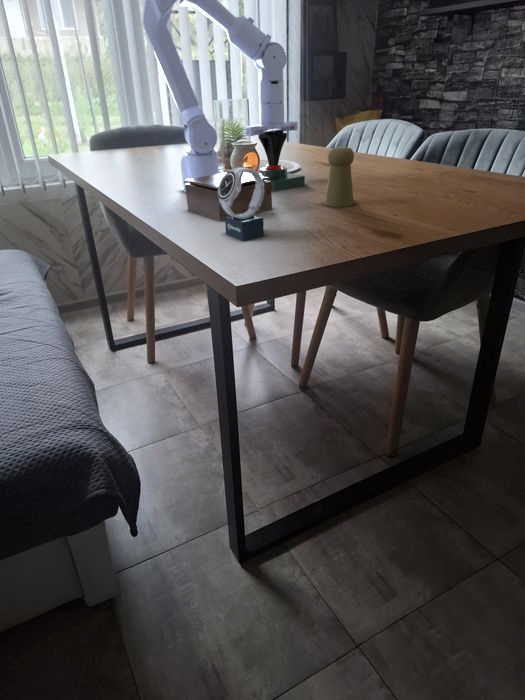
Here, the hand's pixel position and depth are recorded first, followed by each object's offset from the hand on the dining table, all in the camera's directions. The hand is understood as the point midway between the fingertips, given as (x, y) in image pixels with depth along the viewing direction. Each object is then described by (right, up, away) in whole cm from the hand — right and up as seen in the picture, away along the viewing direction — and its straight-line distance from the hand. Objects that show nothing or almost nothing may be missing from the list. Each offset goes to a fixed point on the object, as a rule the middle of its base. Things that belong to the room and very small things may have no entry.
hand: (273, 164), depth 119 cm
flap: (-7, -10, -20) cm, 24 cm away
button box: (0, -4, +2) cm, 5 cm away
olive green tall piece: (+13, -15, -18) cm, 27 cm away
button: (0, -1, +1) cm, 2 cm away
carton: (-10, -17, -19) cm, 27 cm away
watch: (-6, -26, -35) cm, 44 cm away
